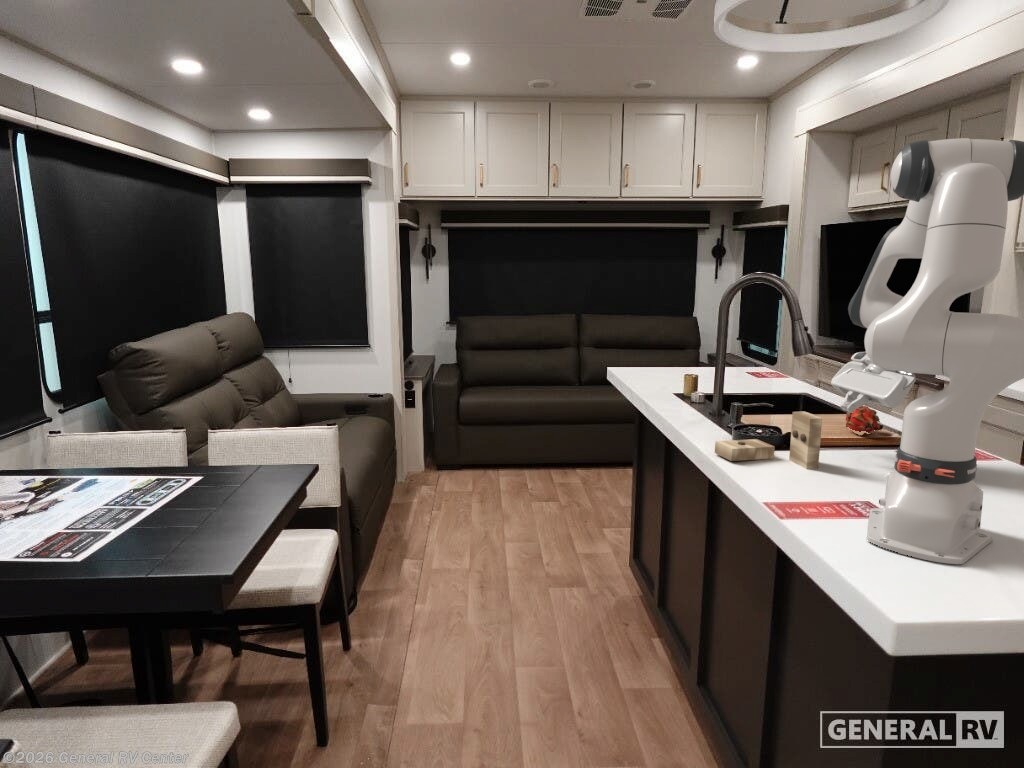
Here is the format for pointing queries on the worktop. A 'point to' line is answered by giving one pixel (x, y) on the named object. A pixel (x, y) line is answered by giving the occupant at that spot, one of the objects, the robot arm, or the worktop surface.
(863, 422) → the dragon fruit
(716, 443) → the tile one
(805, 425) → the tile two
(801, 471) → the worktop surface
